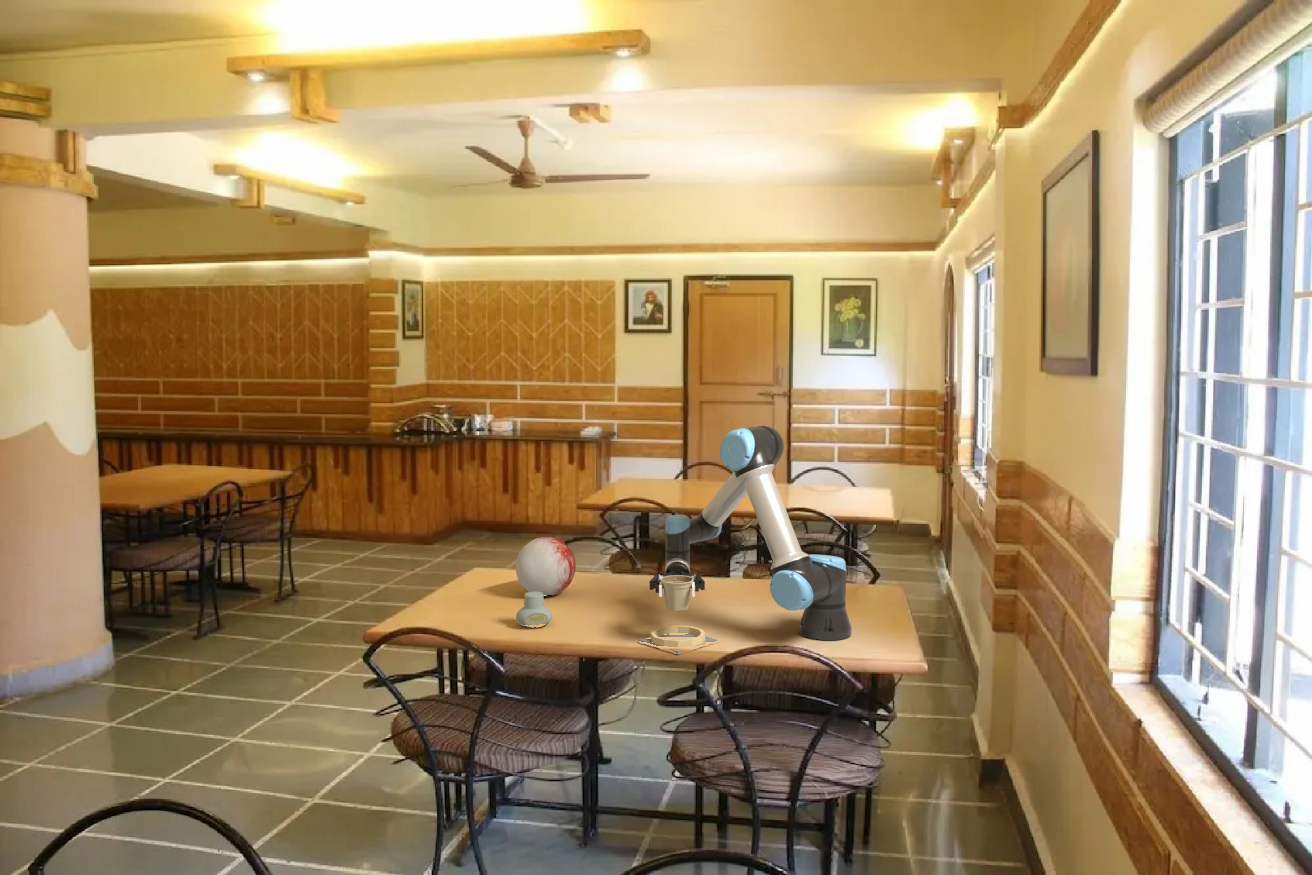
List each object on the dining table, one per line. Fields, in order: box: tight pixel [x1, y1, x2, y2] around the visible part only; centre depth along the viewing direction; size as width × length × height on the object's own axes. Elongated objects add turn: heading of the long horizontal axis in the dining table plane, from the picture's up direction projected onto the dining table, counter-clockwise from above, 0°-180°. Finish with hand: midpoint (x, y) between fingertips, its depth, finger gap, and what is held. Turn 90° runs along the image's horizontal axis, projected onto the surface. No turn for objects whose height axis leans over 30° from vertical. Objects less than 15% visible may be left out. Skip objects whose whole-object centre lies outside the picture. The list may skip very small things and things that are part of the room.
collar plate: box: [638, 624, 718, 653], centre depth 296 cm, size 16×16×3 cm
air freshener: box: [515, 591, 553, 626], centre depth 315 cm, size 11×8×10 cm
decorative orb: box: [515, 536, 577, 596], centre depth 351 cm, size 21×20×20 cm
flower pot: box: [660, 575, 694, 612], centre depth 295 cm, size 9×9×9 cm
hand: (676, 592), depth 290 cm, fingers closed on flower pot, 8 cm apart
